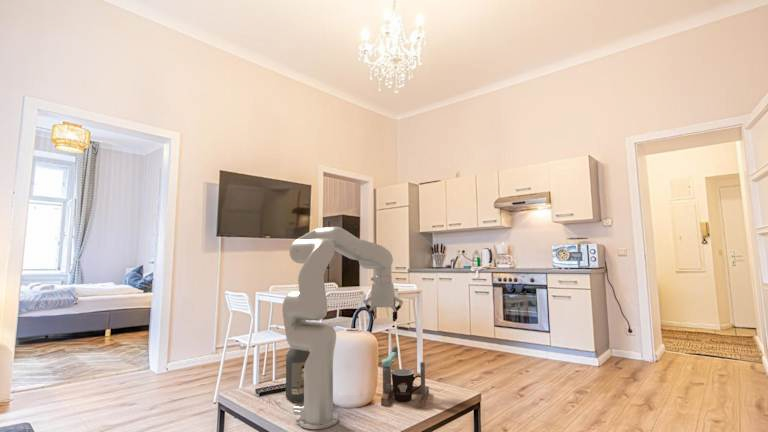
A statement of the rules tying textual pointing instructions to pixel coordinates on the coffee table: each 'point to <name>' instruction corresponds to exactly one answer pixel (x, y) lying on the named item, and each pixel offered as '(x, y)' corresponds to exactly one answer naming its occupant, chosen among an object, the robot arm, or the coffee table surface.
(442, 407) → the coffee table surface
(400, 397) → the coffee mug
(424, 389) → the dock
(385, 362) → the clip
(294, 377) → the liquor
